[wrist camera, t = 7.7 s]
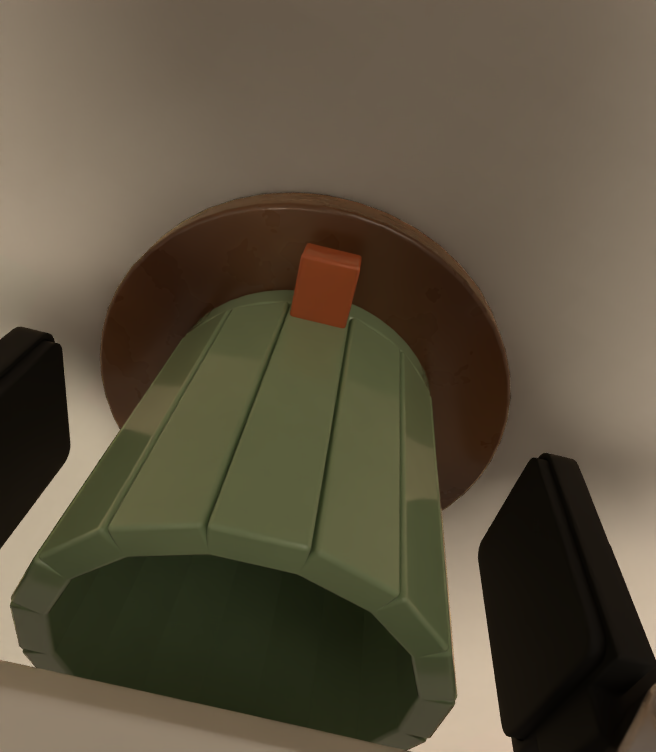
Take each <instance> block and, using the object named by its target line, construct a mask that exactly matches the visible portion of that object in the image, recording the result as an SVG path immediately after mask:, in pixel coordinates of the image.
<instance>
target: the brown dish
mask: <svg viewBox="0 0 656 752" xmlns="http://www.w3.org/2000/svg"><path fill="white" fill-rule="evenodd" d="M307 243H311V244H315V245H319V246H323V247H328V248H332V249H336V250H340V251H344V252H348V253H352V254H356V255H360V256H361V257H362V266H361V271H360V275H359V279H358V283H357V287H356V291H355V294H354V298H353V302H352V304H354V305H356V306H358V307H360V308H362V309H364V310H366V311H368V312H369V313H371V314H373V315H374V316H376V317H378V318H379V319H380V320H382V321H383V322H384V323H385V324H387V325H388V326H389V327H391V328H392V329H393V330H394V331H395V332H396V333H397V334H398V335H399V336H400V337H401V338H402V339H403V340H404V341H405V342H406V343H407V344H408V346H409V347H410V348H411V350H412V351H413V352H414V354H415V355H416V356H417V358H418V360H419V362H420V364H421V366H422V367H423V369H424V371H425V374H426V377H427V380H428V382H429V385H430V390H431V396H432V401H433V414H434V424H435V434H436V446H437V458H438V470H439V482H440V494H441V506H442V510H444V509H446V508H447V507H449V506H450V505H451V504H452V503H454V502H455V501H456V500H457V499H458V498H460V497H461V496H462V495H463V494H465V492H466V491H467V490H468V489H469V488H470V487H471V486H472V485H473V484H474V483H475V482H476V481H477V480H478V479H479V477H480V476H481V475H482V473H483V472H484V470H485V469H486V467H487V466H488V465H489V463H490V462H491V460H492V458H493V456H494V454H495V452H496V450H497V448H498V446H499V444H500V442H501V439H502V436H503V433H504V430H505V426H506V423H507V420H508V413H509V406H510V399H511V390H510V371H509V366H508V361H507V356H506V351H505V347H504V344H503V341H502V338H501V335H500V332H499V329H498V327H497V324H496V321H495V319H494V316H493V313H492V311H491V309H490V307H489V305H488V304H487V302H486V300H485V298H484V296H483V295H482V293H481V291H480V289H479V288H478V286H477V285H476V284H475V283H474V281H473V280H472V279H471V277H470V276H469V275H468V274H467V272H466V271H465V270H464V268H463V267H462V266H461V265H460V264H459V263H458V262H457V261H456V260H455V259H454V258H453V257H452V256H451V255H450V254H448V253H447V252H446V251H445V250H444V249H443V248H442V247H441V246H440V245H439V244H437V243H436V242H434V241H433V240H432V239H430V238H429V237H427V236H426V235H425V234H423V233H422V232H421V231H419V230H418V229H416V228H415V227H413V226H411V225H409V224H407V223H405V222H403V221H401V220H400V219H398V218H396V217H394V216H392V215H390V214H388V213H386V212H383V211H380V210H378V209H375V208H372V207H369V206H367V205H364V204H361V203H359V202H354V201H350V200H346V199H341V198H337V197H332V196H328V195H318V194H307V193H273V194H261V195H256V196H250V197H245V198H240V199H235V200H232V201H229V202H226V203H223V204H220V205H217V206H214V207H211V208H208V209H206V210H204V211H202V212H200V213H198V214H196V215H194V216H192V217H190V218H189V219H187V220H185V221H183V222H181V223H180V224H179V225H177V226H176V227H175V228H173V229H172V230H171V231H169V232H168V233H166V234H165V235H164V236H162V237H161V238H160V239H159V240H158V241H157V242H156V243H155V244H154V245H153V246H152V247H150V248H149V249H148V250H147V251H146V253H145V254H144V255H143V256H142V257H141V258H140V259H139V260H138V261H137V262H136V263H135V264H134V265H133V266H132V267H131V268H130V270H129V271H128V273H127V274H126V276H125V277H124V279H123V280H122V281H121V283H120V284H119V286H118V288H117V290H116V292H115V294H114V296H113V298H112V301H111V303H110V305H109V307H108V310H107V314H106V318H105V321H104V325H103V329H102V337H101V347H100V363H101V376H102V381H103V386H104V390H105V395H106V398H107V401H108V404H109V406H110V409H111V412H112V415H113V417H114V419H115V421H116V423H117V425H118V427H119V429H121V428H122V426H123V425H124V423H125V422H126V420H127V419H128V418H129V416H130V415H131V413H132V412H133V410H134V409H135V407H136V406H137V404H138V403H139V401H140V400H141V398H142V397H143V395H144V394H145V392H146V391H147V389H148V388H149V386H150V385H151V383H152V382H153V380H154V379H155V378H156V376H157V375H158V373H159V372H160V370H161V369H162V367H163V366H164V364H165V363H166V361H167V360H168V358H169V357H170V355H171V354H172V352H173V351H174V349H175V348H176V346H177V345H178V343H179V342H180V340H181V339H182V338H184V336H185V335H186V334H187V332H188V331H189V330H190V328H191V327H192V326H193V325H195V324H196V323H197V322H198V321H199V320H200V319H201V318H202V317H203V316H205V315H206V314H207V313H209V312H210V311H212V310H213V309H215V308H216V307H218V306H220V305H222V304H224V303H226V302H228V301H230V300H233V299H236V298H239V297H242V296H245V295H249V294H254V293H259V292H264V291H275V290H294V288H295V282H296V277H297V272H298V267H299V261H300V256H301V254H302V251H303V249H304V246H305V245H306V244H307Z"/></svg>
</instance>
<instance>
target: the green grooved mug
mask: <svg viewBox="0 0 656 752" xmlns="http://www.w3.org/2000/svg"><path fill="white" fill-rule="evenodd" d="M361 266H362V257H361V256H360V255H356V254H352V253H348V252H344V251H340V250H336V249H332V248H328V247H323V246H319V245H315V244H311V243H307V244H306V245H305V246H304V249H303V251H302V254H301V256H300V261H299V267H298V272H297V277H296V282H295V288H294V290H275V291H264V292H259V293H254V294H249V295H245V296H242V297H239V298H236V299H233V300H230V301H228V302H226V303H224V304H222V305H220V306H218V307H216V308H215V309H213V310H212V311H210V312H209V313H207V314H206V315H205V316H203V317H202V318H201V319H200V320H199V321H198V322H197V323H196V324H195V325H193V326H192V327H191V328H190V330H189V331H188V332H187V334H186V335H185V336H184V338H182V339H181V340H180V342H179V343H178V345H177V346H176V348H175V349H174V351H173V352H172V354H171V355H170V357H169V358H168V360H167V361H166V363H165V364H164V366H163V367H162V369H161V370H160V372H159V373H158V375H157V376H156V378H155V379H154V380H153V382H152V383H151V385H150V386H149V388H148V389H147V391H146V392H145V394H144V395H143V397H142V398H141V400H140V401H139V403H138V404H137V406H136V407H135V409H134V410H133V412H132V413H131V415H130V416H129V418H128V419H127V420H126V422H125V423H124V425H123V426H122V428H121V429H120V431H119V432H118V434H117V435H116V437H115V438H114V440H113V441H112V443H111V444H110V446H109V447H108V449H107V450H106V452H105V453H104V455H103V456H102V458H101V459H100V460H99V462H98V463H97V465H96V466H95V468H94V469H93V471H92V472H91V474H90V475H89V477H88V478H87V480H86V481H85V483H84V484H83V486H82V487H81V489H80V490H79V492H78V493H77V495H76V496H75V498H74V499H73V501H72V502H71V503H70V505H69V506H68V508H67V509H66V511H65V512H64V514H63V515H62V517H61V518H60V520H59V521H58V523H57V524H56V526H55V527H54V529H53V530H52V532H51V533H50V535H49V536H48V538H47V539H46V541H45V542H44V543H43V545H42V546H41V548H40V549H39V551H38V552H37V554H36V555H35V557H34V558H33V560H32V562H31V563H30V565H29V567H28V569H27V570H26V572H25V574H24V575H23V577H22V579H21V580H20V582H19V584H18V586H17V587H16V589H15V591H14V592H13V594H12V596H11V604H10V608H11V613H12V617H13V621H14V625H15V630H16V634H17V638H18V643H19V646H20V647H21V648H22V649H23V653H24V655H25V656H26V657H27V658H28V659H29V660H30V661H31V663H32V664H33V665H34V666H35V667H36V668H39V669H44V670H48V671H53V672H58V673H62V674H67V675H71V676H76V677H81V678H85V679H90V680H94V681H99V682H104V683H108V684H113V685H117V686H122V687H126V688H131V689H135V690H140V691H144V692H149V693H153V694H158V695H162V696H167V697H171V698H176V699H180V700H185V701H189V702H194V703H198V704H203V705H207V706H212V707H216V708H221V709H225V710H230V711H234V712H239V713H243V714H248V715H252V716H257V717H261V718H266V719H270V720H274V721H279V722H283V723H288V724H292V725H297V726H301V727H306V728H310V729H314V730H319V731H323V732H328V733H332V734H336V735H341V736H345V737H349V738H354V739H358V740H363V741H367V742H371V743H376V744H380V745H384V746H389V747H393V748H398V749H402V750H406V751H407V750H409V749H411V748H413V747H415V746H417V745H420V744H422V743H424V742H425V741H426V739H427V738H431V736H432V735H433V733H434V732H435V731H436V729H437V728H438V727H439V725H440V724H441V723H442V721H443V720H444V719H445V717H446V716H447V715H448V713H449V712H450V711H451V709H452V708H453V707H454V705H455V700H456V698H457V687H456V675H455V663H454V651H453V639H452V627H451V614H450V602H449V590H448V578H447V566H446V554H445V542H444V530H443V518H442V506H441V494H440V482H439V470H438V458H437V446H436V434H435V424H434V414H433V401H432V396H431V390H430V385H429V382H428V380H427V377H426V374H425V371H424V369H423V367H422V366H421V364H420V362H419V360H418V358H417V356H416V355H415V354H414V352H413V351H412V350H411V348H410V347H409V346H408V344H407V343H406V342H405V341H404V340H403V339H402V338H401V337H400V336H399V335H398V334H397V333H396V332H395V331H394V330H393V329H392V328H391V327H389V326H388V325H387V324H385V323H384V322H383V321H382V320H380V319H379V318H378V317H376V316H374V315H373V314H371V313H369V312H368V311H366V310H364V309H362V308H360V307H358V306H356V305H354V304H352V302H353V298H354V294H355V291H356V287H357V283H358V279H359V275H360V271H361Z"/></svg>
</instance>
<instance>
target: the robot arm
mask: <svg viewBox="0 0 656 752" xmlns="http://www.w3.org/2000/svg"><path fill="white" fill-rule="evenodd" d="M69 452H70V434H69V423H68V411H67V399H66V388H65V376H64V365H63V353H62V347H61V345H60V344H58V343H55V341H54V338H53V336H52V335H51V334H49V333H46V332H41V331H37V330H33V329H29V328H25V327H16V328H15V329H13V330H12V331H10V332H9V333H8V334H7V335H5V336H4V337H3V338H2V339H1V340H0V549H1V547H2V546H3V545H4V543H5V542H6V541H7V539H8V538H9V537H10V535H11V534H12V533H13V531H14V530H15V529H16V527H17V526H18V525H19V523H20V522H21V521H22V519H23V518H24V517H25V515H26V514H27V513H28V511H29V510H30V509H31V507H32V506H33V505H34V503H35V502H36V501H37V499H38V498H39V497H40V495H41V494H42V493H43V491H44V490H45V488H46V487H47V486H48V484H49V483H50V482H51V480H52V479H53V478H54V476H55V475H56V474H57V472H58V471H59V470H60V468H61V467H62V466H63V464H64V463H65V461H66V460H67V457H68V455H69ZM478 562H479V569H480V576H481V583H482V590H483V597H484V604H485V611H486V619H487V626H488V633H489V640H490V647H491V654H492V661H493V668H494V675H495V682H496V689H497V696H498V703H499V710H500V717H501V724H502V728H503V731H504V733H505V734H506V736H508V737H511V738H512V745H513V751H514V752H656V659H655V657H654V654H653V652H652V649H651V647H650V644H649V642H648V639H647V637H646V634H645V632H644V629H643V626H642V624H641V621H640V619H639V616H638V614H637V611H636V609H635V606H634V604H633V601H632V599H631V596H630V594H629V591H628V588H627V586H626V583H625V581H624V578H623V576H622V573H621V571H620V568H619V566H618V563H617V561H616V558H615V556H614V553H613V550H612V548H611V546H610V544H609V542H608V539H607V537H606V534H605V531H604V529H603V526H602V524H601V521H600V519H599V516H598V514H597V511H596V509H595V506H594V504H593V501H592V498H591V496H590V493H589V491H588V488H587V486H586V483H585V481H584V478H583V476H582V473H581V471H580V468H579V465H578V464H577V462H576V461H575V460H574V459H570V458H566V457H562V456H558V455H554V454H549V453H543V454H542V455H540V457H539V458H531V459H530V460H529V462H528V463H527V465H526V467H525V468H524V470H523V472H522V473H521V475H520V477H519V478H518V480H517V482H516V483H515V485H514V487H513V488H512V490H511V492H510V494H509V495H508V497H507V499H506V500H505V502H504V504H503V505H502V507H501V509H500V510H499V512H498V514H497V516H496V517H495V519H494V521H493V522H492V524H491V526H490V527H489V529H488V531H487V532H486V534H485V536H484V538H483V539H482V541H481V543H480V546H479V551H478ZM0 752H411V751H406V750H402V749H398V748H393V747H389V746H384V745H380V744H376V743H371V742H367V741H363V740H358V739H354V738H349V737H345V736H341V735H336V734H332V733H328V732H323V731H319V730H314V729H310V728H306V727H301V726H297V725H292V724H288V723H283V722H279V721H274V720H270V719H266V718H261V717H257V716H252V715H248V714H243V713H239V712H234V711H230V710H225V709H221V708H216V707H212V706H207V705H203V704H198V703H194V702H189V701H185V700H180V699H176V698H171V697H167V696H162V695H158V694H153V693H149V692H144V691H140V690H135V689H131V688H126V687H122V686H117V685H113V684H108V683H104V682H99V681H94V680H90V679H85V678H81V677H76V676H71V675H67V674H62V673H58V672H53V671H48V670H44V669H39V668H35V667H30V666H26V665H21V664H16V663H12V662H7V661H3V660H0Z"/></svg>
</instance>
